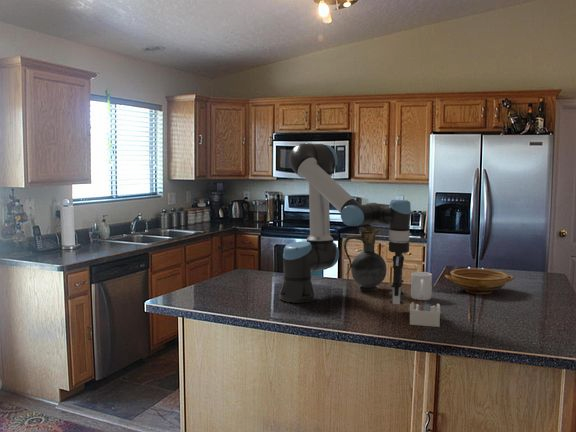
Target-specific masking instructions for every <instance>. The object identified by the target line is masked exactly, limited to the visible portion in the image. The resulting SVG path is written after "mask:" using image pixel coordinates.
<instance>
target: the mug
mask: <svg viewBox="0 0 576 432" xmlns="http://www.w3.org/2000/svg"><path fill="white" fill-rule="evenodd" d="M410 275H411V277H410V278H411V281H410V297H411V298H412V300H416V299H417V300H418V301H428V300H431V299H432V279H433V274H432V273H431V272H427V271H414V272H411V274H410Z"/></svg>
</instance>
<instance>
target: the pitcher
mask: <svg viewBox="0 0 576 432" xmlns="http://www.w3.org/2000/svg"><path fill="white" fill-rule="evenodd" d="M362 226H363V228H362V227H360V228H358V229H359V230H358V231H359V232H361V234H360V235H359V236H358V235H355V234H354V235H353V234H352V235H348V236H346V238H345V239H344V241H343V249H344V252H345V255H346V257H347V259H348V261H349V268H348V270H347V271H346V274H345V276H347V275H348V274H349V272H350V271H351V275H352V279H353V280H354V282H355V283H357V284H358V285H360V287H359V290H361V291H362V292H363V291H364V292H376V291H378V287H377V286H378V285H380V284H382V282H383V281H384V280H385V278H386V275H387V269H388V268H387V263H386V261H385V259H384V258H383V256H382V255H380V254H378V253H376V251H375V244H376V235H377V234H378V233H379V232H384V229H381V228H377V227H373V228H372V226H373V224H365V225H362ZM353 239H354V240H358V241H361V242H362V243H363V245H362V246H363V249H362V250H363V252H361V253H359V254H357V255H355V257H354V258H353V259H352V260H351V257H350V254H349V253H348V249H347V243H348V242H349V241H350V240H353Z"/></svg>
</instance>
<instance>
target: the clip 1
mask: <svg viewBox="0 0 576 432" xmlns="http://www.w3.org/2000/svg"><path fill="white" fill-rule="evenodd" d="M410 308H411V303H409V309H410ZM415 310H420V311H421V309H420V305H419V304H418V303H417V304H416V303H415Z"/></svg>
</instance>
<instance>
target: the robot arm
mask: <svg viewBox="0 0 576 432" xmlns="http://www.w3.org/2000/svg"><path fill="white" fill-rule="evenodd" d="M288 161H289V165H290V167H291V169H292V171H294V172H293V173H295V174H296V175H297V176H298V177H299V178H301V179H305V180H306V181H307V183H308V196H309V197H308V199H309V202H308V203H309V235H308V237H307V238H306V241H304V240H303V241H302V240H301V241H294V242H290V243H288V244H286V245H285V246H284V248H283V254H282V259H283V260H282V261H283V281H282V285H281V288H280V291H279V298H280V299H281V300H283V301H282V302H284V301H286V302H285V303H290V302H292V304H302V303H303V304H304V302H305V303H310V302H311V303H312V302H313V300H314V301H315V300H316V299H317V298H316V295H317V294H316V290H315V288H314V284H313V281H312V272H317V271H322V270H323V271H324V270H328V269H330V268H333V267H334V266H335V265H337V263H338V261H339V258H340V249H339V247H338V245H337V244H336V243H335V242H334V238H333V237H332V236H331V230H330V229H331V228H330V227H331V226H330V204H331V205H332V206H333V207H334V208H335V209H336V210H337V211H338V212H339V213H340V219H341V221H342V224H344V225H345V226H347V227H358V226H363V225H365V224H369V225H373V224H375V225H376V224H383V225H389V227H388V240H389V241H388V251H389V252H390V253H394V255H393V257H392V268H393V276H392V277H393V278H392V279H393V280H392V284H391V285H390V287H391V288H392V291H393V302H392V305H396V304H399V305H400V301H401V300H400V290H402V287H403V286H401V285H400V279H401V276H402V277H403V267H404V260H405V256H404V255H403V254H407V253H409V251H410V242H409V241H410V236H412V233H411V232H410V229H411V216H412V215H411V214H412V211H411V202H410V201H409V200H407V199H405V200H404V199H392V200H390V202H389V203H390V204H385V203H377V202H367V203H365V204H361V203H359V202H358V201H357V199H355V198H354V197H353V196H352V195H351V194H350V193H349V192H347V190H345V189H344V187H342V186H341V185H340V184H339V183H338V182H337V181H336V180H335V179H334V178H333V177H332V176H333V170H335V169H336V166H337V165H338V161H339V160H338V154H337V152H336V150H335V149H334V148H333V147H332V146H331V145H328V144H325V143H324V144H323V143H299V144H297V145H296V146H294V147H293V148H292V149H291V150H290V153H289V157H288ZM337 167H338V166H337ZM397 283H398V284H397ZM401 283H402V284H403V283H404V279H402V280H401ZM400 286H401V287H400ZM280 299H279V300H280ZM281 300H280V301H281ZM399 305H398V306H399Z"/></svg>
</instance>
